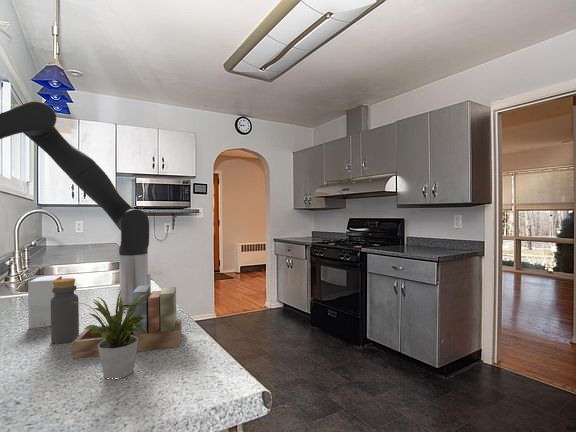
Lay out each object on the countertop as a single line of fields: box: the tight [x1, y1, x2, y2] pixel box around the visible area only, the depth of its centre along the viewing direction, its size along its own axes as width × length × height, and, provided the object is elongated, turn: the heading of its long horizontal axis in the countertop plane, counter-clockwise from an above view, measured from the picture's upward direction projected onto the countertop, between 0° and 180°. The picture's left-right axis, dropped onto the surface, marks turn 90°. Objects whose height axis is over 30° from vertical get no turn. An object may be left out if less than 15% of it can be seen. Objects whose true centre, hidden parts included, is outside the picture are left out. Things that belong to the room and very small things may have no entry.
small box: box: [27, 275, 63, 329], centre depth 98 cm, size 8×6×13 cm
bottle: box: [50, 278, 80, 345], centre depth 85 cm, size 6×6×15 cm
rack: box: [71, 285, 182, 359], centre depth 81 cm, size 22×10×13 cm, turn 105°
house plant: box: [73, 290, 149, 379], centre depth 65 cm, size 14×14×16 cm
